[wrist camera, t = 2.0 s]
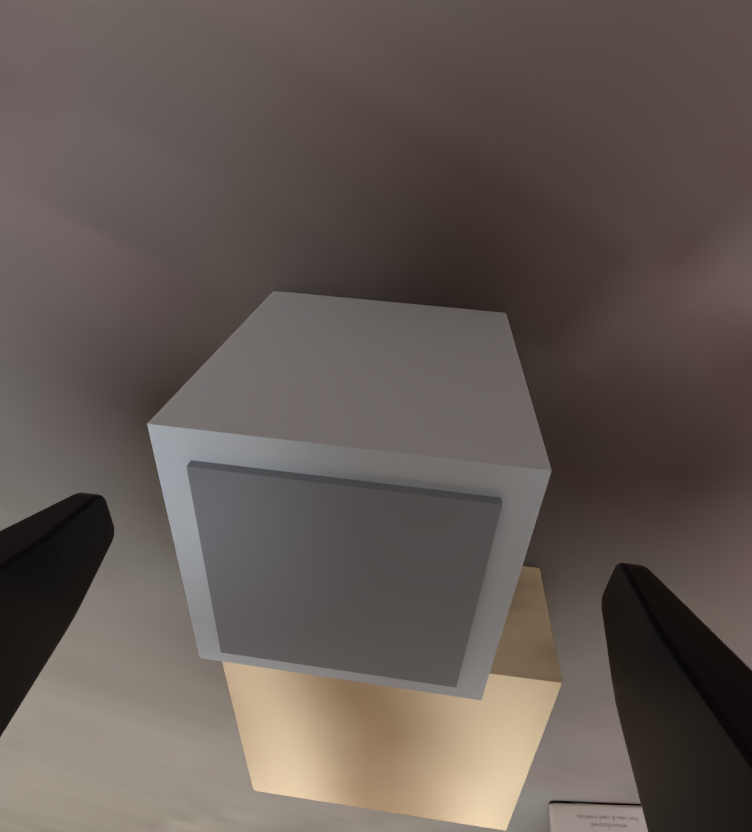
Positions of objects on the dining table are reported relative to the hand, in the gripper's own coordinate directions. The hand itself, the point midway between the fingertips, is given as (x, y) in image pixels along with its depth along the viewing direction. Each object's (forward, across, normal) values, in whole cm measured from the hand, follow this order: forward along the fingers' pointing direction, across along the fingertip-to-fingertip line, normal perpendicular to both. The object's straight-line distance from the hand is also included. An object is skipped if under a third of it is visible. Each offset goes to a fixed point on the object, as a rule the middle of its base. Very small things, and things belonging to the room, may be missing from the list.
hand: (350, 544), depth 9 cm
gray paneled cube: (+5, 0, 0) cm, 5 cm away
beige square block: (+6, -1, +10) cm, 12 cm away
